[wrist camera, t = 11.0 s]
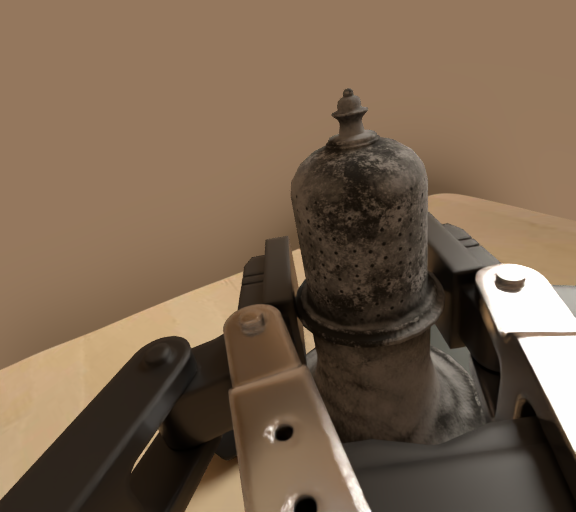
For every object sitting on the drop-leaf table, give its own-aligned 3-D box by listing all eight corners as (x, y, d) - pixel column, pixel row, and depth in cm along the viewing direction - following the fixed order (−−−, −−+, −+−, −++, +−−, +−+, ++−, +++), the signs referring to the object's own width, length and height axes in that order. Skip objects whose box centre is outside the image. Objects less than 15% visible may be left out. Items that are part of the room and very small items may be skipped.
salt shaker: (469, 410, 14) (502, 50, 8) (494, 612, 9) (614, 76, 3) (319, 389, 16) (261, 92, 10) (273, 544, 11) (114, 145, 5)
